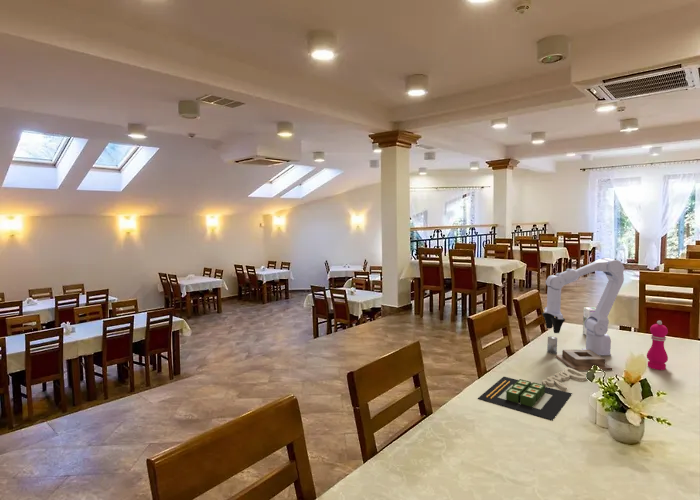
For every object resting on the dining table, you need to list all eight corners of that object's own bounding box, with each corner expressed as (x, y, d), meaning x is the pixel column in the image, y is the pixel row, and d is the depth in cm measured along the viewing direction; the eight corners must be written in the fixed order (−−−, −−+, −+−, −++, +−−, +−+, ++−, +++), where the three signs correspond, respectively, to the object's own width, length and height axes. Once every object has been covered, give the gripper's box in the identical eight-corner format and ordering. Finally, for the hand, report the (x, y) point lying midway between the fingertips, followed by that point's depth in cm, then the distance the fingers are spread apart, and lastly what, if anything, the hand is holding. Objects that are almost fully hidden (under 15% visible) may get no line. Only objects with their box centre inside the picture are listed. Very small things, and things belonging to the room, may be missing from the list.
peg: (554, 350, 202) (554, 336, 201) (558, 353, 198) (558, 338, 197) (545, 350, 202) (546, 336, 201) (549, 353, 198) (550, 339, 197)
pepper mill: (647, 368, 179) (650, 321, 177) (645, 363, 185) (647, 317, 183) (668, 371, 175) (672, 323, 173) (665, 365, 182) (668, 319, 180)
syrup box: (599, 337, 221) (600, 309, 220) (587, 337, 221) (589, 309, 220) (593, 333, 227) (594, 306, 225) (582, 333, 227) (583, 306, 225)
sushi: (503, 378, 172) (503, 369, 172) (572, 395, 156) (572, 385, 156) (477, 400, 153) (477, 390, 153) (552, 422, 137) (552, 411, 137)
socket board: (591, 356, 194) (591, 347, 193) (612, 370, 178) (612, 360, 177) (555, 356, 194) (555, 348, 193) (573, 370, 178) (573, 361, 178)
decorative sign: (567, 366, 179) (592, 374, 171) (567, 370, 179) (592, 378, 171) (537, 381, 165) (562, 389, 157) (536, 384, 166) (562, 394, 158)
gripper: (538, 298, 205) (537, 326, 206) (552, 305, 190) (550, 335, 192) (553, 298, 204) (552, 326, 206) (568, 305, 190) (566, 335, 191)
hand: (552, 330), depth 199 cm, fingers open, 7 cm apart
